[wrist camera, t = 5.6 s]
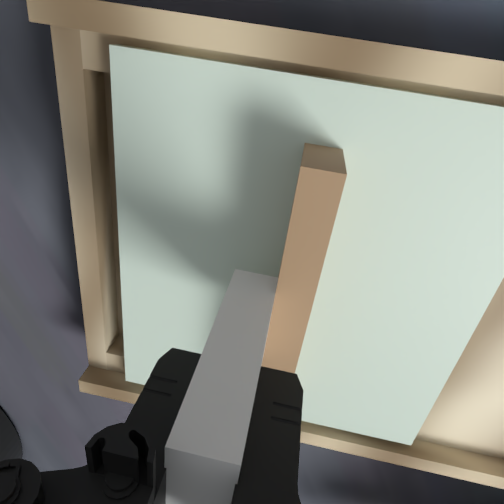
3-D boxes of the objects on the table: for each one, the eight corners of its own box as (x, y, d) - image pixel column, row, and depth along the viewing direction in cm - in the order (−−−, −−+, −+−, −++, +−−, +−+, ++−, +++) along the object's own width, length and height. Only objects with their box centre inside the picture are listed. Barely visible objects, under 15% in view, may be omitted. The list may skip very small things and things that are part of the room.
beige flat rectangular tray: (110, 347, 22) (80, 391, 20) (84, -1, 14) (24, -11, 11) (660, 469, 20) (713, 537, 17) (1031, 141, 12) (1253, 174, 9)
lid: (130, 371, 20) (99, 426, 17) (118, 44, 12) (58, 45, 10) (408, 434, 19) (423, 503, 16) (577, 117, 11) (660, 143, 8)
